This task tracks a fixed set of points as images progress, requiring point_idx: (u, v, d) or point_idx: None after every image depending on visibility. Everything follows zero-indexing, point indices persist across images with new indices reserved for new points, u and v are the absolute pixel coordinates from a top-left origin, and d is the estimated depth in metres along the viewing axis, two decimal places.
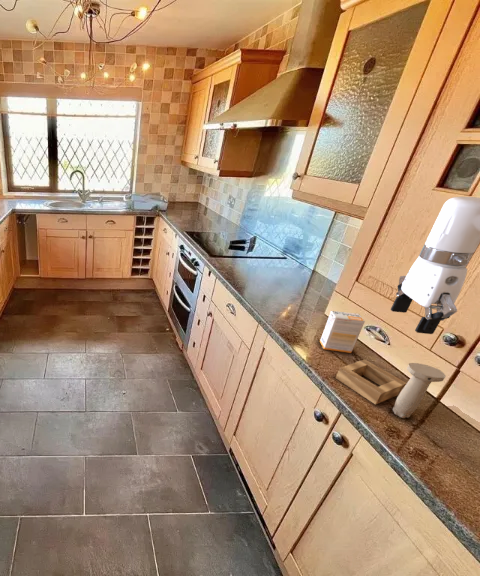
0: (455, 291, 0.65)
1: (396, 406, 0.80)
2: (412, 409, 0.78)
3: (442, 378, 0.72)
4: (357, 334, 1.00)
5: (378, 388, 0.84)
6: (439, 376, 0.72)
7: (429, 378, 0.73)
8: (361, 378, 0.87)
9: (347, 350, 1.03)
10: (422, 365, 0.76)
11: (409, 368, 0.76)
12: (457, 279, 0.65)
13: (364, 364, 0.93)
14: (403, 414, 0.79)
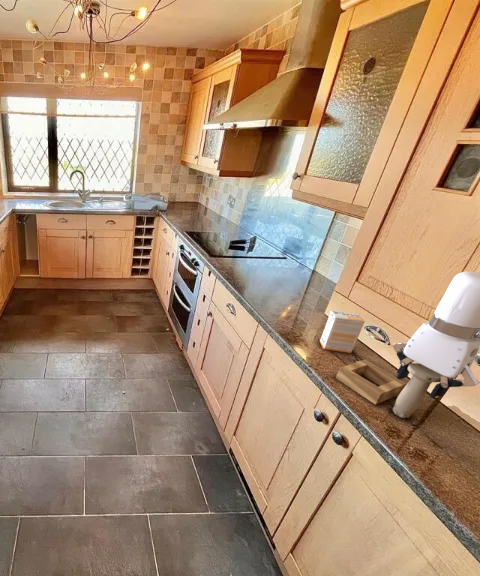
0: (473, 360, 0.68)
1: (396, 406, 0.80)
2: (412, 409, 0.78)
3: None
4: (357, 334, 1.00)
5: (378, 388, 0.84)
6: None
7: (430, 378, 0.73)
8: (361, 378, 0.87)
9: (347, 350, 1.03)
10: None
11: (410, 368, 0.75)
12: (475, 349, 0.67)
13: (364, 364, 0.93)
14: (403, 414, 0.79)
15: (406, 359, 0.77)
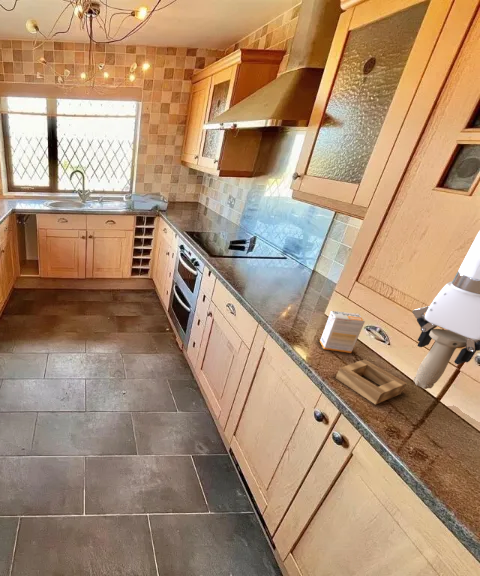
0: None
1: (417, 376, 0.75)
2: (435, 378, 0.73)
3: None
4: (357, 334, 1.00)
5: (378, 388, 0.84)
6: (465, 341, 0.67)
7: (454, 343, 0.68)
8: (361, 378, 0.87)
9: (347, 350, 1.03)
10: (446, 331, 0.71)
11: (432, 334, 0.71)
12: None
13: (364, 364, 0.93)
14: (425, 384, 0.74)
15: (428, 324, 0.72)
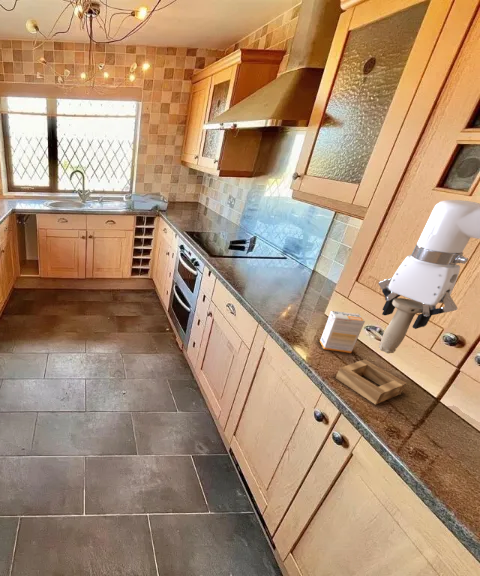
0: (453, 286, 0.71)
1: (382, 342, 0.83)
2: (397, 343, 0.81)
3: None
4: (357, 334, 1.00)
5: (378, 388, 0.84)
6: (422, 307, 0.75)
7: (413, 309, 0.76)
8: (361, 378, 0.87)
9: (347, 350, 1.03)
10: (406, 299, 0.79)
11: (394, 302, 0.79)
12: (455, 276, 0.70)
13: (364, 364, 0.93)
14: (388, 349, 0.82)
15: (391, 294, 0.80)
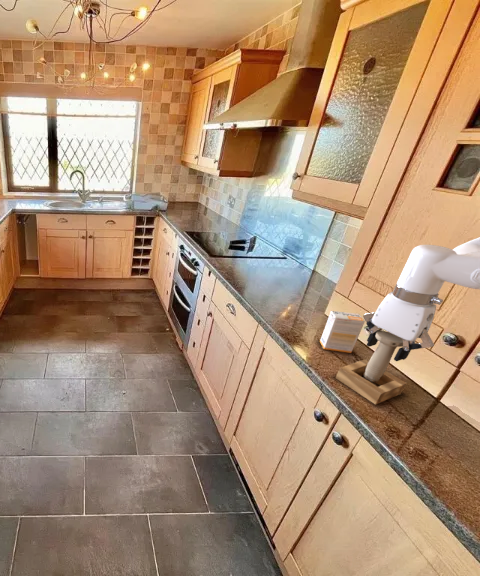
0: (430, 324, 0.76)
1: (366, 371, 0.88)
2: (380, 373, 0.86)
3: None
4: (357, 334, 1.00)
5: (378, 388, 0.84)
6: (402, 341, 0.80)
7: (394, 343, 0.81)
8: (361, 378, 0.87)
9: (347, 350, 1.03)
10: (389, 333, 0.84)
11: (377, 335, 0.84)
12: (431, 314, 0.75)
13: (364, 364, 0.93)
14: (372, 378, 0.87)
15: (374, 327, 0.85)
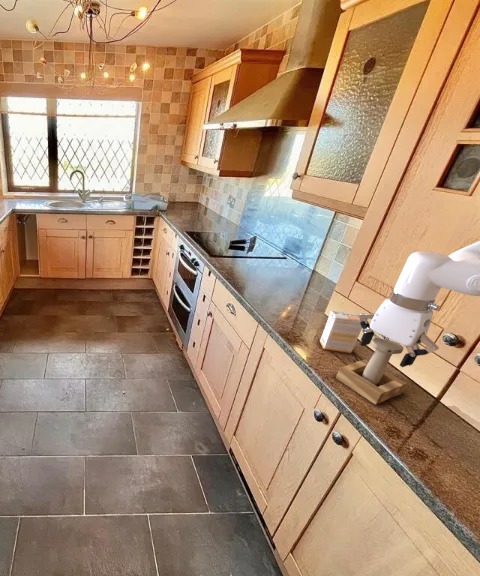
0: (427, 330, 0.76)
1: None
2: (376, 380, 0.87)
3: (400, 350, 0.81)
4: (357, 334, 1.00)
5: (378, 388, 0.84)
6: (398, 349, 0.82)
7: (389, 351, 0.82)
8: (361, 378, 0.87)
9: (347, 350, 1.03)
10: (384, 340, 0.85)
11: (373, 342, 0.85)
12: (428, 320, 0.75)
13: (364, 364, 0.93)
14: None
15: (369, 328, 0.86)
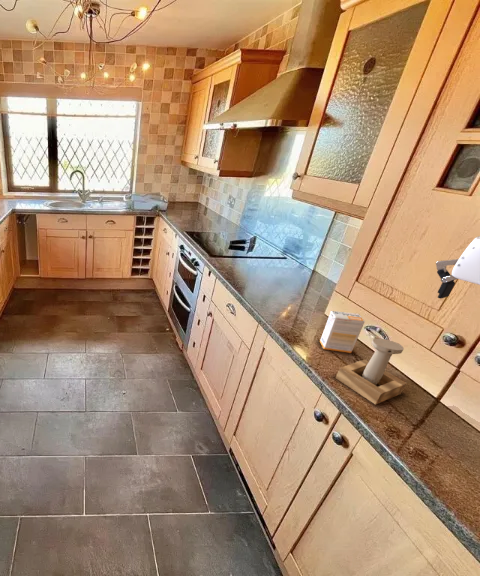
0: None
1: None
2: (376, 380, 0.87)
3: (400, 350, 0.81)
4: (357, 334, 1.00)
5: (378, 388, 0.84)
6: (398, 349, 0.82)
7: (389, 351, 0.82)
8: (361, 378, 0.87)
9: (347, 350, 1.03)
10: (384, 340, 0.85)
11: (373, 343, 0.85)
12: None
13: (364, 364, 0.93)
14: None
15: (450, 276, 0.74)
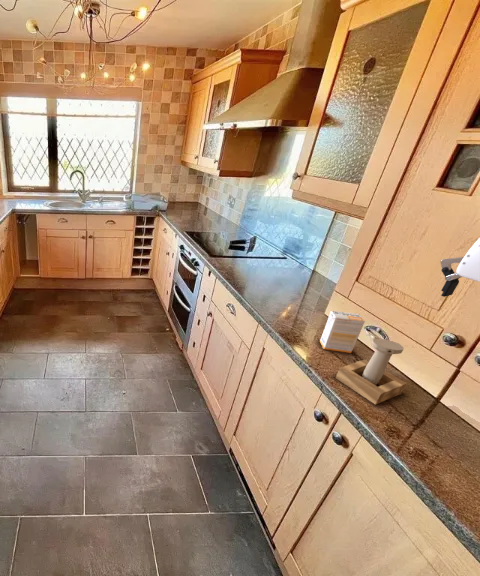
0: None
1: None
2: (376, 380, 0.87)
3: (400, 350, 0.81)
4: (357, 334, 1.00)
5: (378, 388, 0.84)
6: (398, 349, 0.82)
7: (389, 351, 0.82)
8: (361, 378, 0.87)
9: (347, 350, 1.03)
10: (384, 340, 0.85)
11: (373, 343, 0.85)
12: None
13: (364, 364, 0.93)
14: None
15: (455, 274, 0.73)
